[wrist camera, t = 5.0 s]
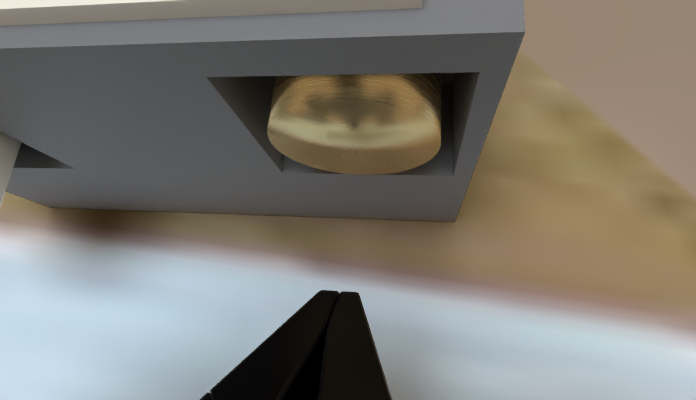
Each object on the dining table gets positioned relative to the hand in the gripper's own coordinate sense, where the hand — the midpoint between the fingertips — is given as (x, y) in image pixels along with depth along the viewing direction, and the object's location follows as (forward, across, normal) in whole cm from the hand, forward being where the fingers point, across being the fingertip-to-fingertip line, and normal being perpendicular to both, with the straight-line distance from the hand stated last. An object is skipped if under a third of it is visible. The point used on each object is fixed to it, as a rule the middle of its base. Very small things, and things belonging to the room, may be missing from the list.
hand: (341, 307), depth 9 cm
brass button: (+5, 0, -3) cm, 5 cm away
